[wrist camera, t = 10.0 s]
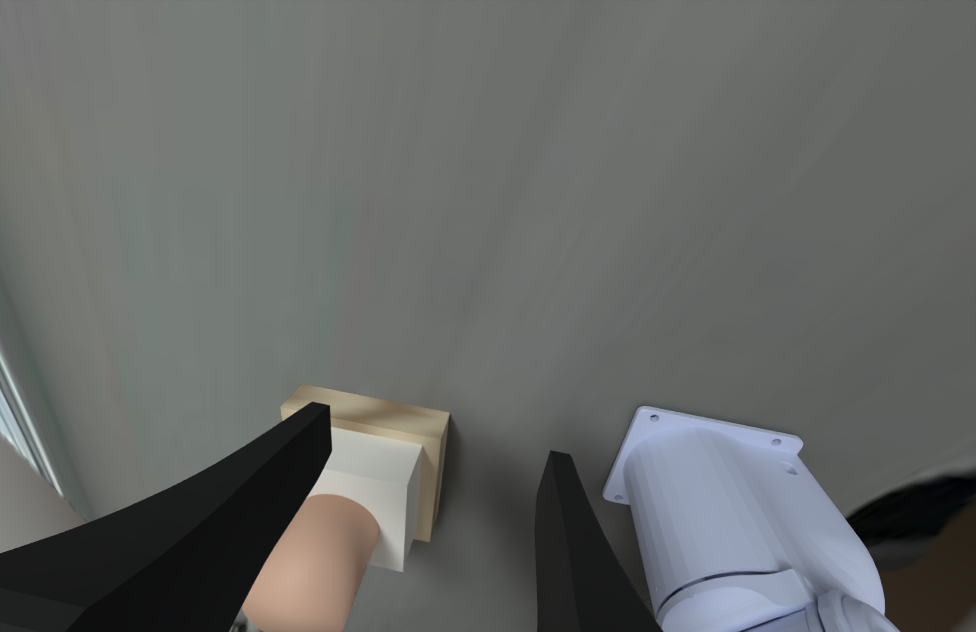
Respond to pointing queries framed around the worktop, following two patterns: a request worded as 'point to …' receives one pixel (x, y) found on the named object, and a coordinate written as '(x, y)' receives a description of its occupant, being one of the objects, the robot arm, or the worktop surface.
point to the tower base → (389, 436)
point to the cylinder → (314, 568)
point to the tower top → (377, 488)
